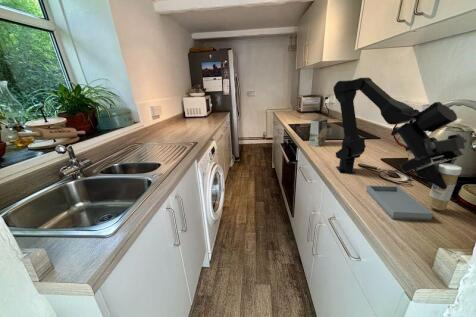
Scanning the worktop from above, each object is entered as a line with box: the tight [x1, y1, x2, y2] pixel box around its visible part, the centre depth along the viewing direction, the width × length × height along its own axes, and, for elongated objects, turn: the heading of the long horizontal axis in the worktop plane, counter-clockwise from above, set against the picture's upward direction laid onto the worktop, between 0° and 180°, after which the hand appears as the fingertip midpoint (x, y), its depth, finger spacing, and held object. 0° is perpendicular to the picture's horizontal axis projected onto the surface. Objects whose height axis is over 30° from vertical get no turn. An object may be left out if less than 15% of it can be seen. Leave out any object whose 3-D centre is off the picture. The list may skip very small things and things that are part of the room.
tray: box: [365, 185, 434, 222], centre depth 64 cm, size 16×10×2 cm, turn 172°
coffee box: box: [308, 118, 328, 147], centre depth 127 cm, size 9×6×16 cm
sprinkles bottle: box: [426, 163, 463, 211], centre depth 58 cm, size 5×5×13 cm
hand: (449, 186), depth 56 cm, fingers closed on sprinkles bottle, 4 cm apart
